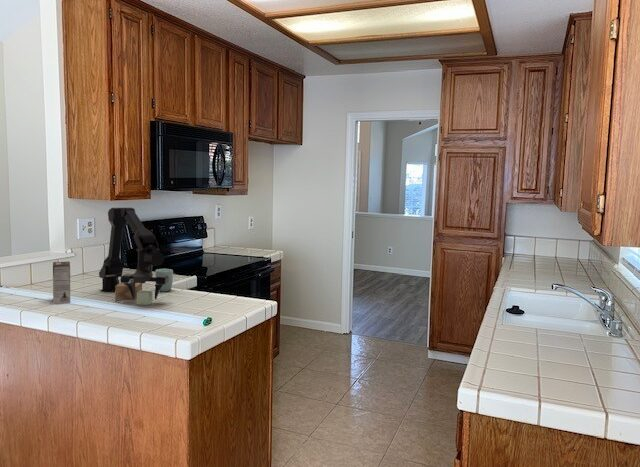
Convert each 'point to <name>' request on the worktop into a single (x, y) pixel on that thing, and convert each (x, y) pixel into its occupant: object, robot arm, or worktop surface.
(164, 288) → the cup
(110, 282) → the robot arm
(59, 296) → the coffee box
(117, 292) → the walnut block
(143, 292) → the green cube
